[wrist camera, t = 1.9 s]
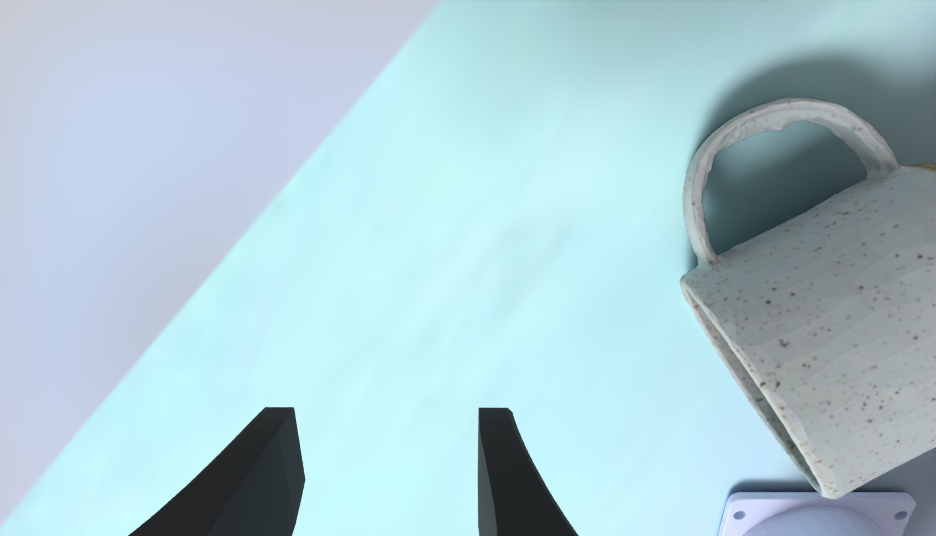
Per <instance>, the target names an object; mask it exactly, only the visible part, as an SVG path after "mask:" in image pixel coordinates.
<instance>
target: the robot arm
mask: <svg viewBox="0 0 936 536" xmlns="http://www.w3.org/2000/svg"><path fill="white" fill-rule="evenodd" d="M304 483H305V475H304V468H303V462H302V456H301V449H300V443H299V437H298V430H297V424H296V417H295V411H294V407H265V408H264V409H263V410H262V411H261V412H260V413H259V414H258V415H257V416H256V417H255V418H254V419H253V420H252V421H251V422H250V423H249V424H248V425H247V426H246V427H245V428H244V429H243V430H242V431H241V432H240V433H239V434H238V435H237V436H236V438H235V439H234V440H233V441H232V442H231V443H230V444H229V445H228V446H227V447H226V448H225V449H224V450H223V451H222V452H221V453H220V454H219V455H218V456H217V457H216V458H215V459H214V460H213V461H212V462H211V463H210V464H209V465H208V466H207V467H206V468H204V469H203V470H202V471H201V472H200V473H199V474H198V475H197V476H196V477H195V478H194V479H193V480H192V481H191V482H190V483H189V484H188V485H187V486H186V487H185V488H183V489H182V490H181V491H180V492H179V493H178V494H177V495H176V496H175V497H173V498H172V499H171V500H170V501H169V502H168V503H167V504H166V505H164V506H163V507H162V508H161V509H160V510H159V511H158V512H157V513H155V514H154V515H153V516H152V517H151V518H150V519H148V520H147V521H146V522H145V523H144V524H142V525H141V526H140V527H139V528H137V529H136V530H135V531H134V532H132V533H131V534H130V535H128V536H292V533H293V530H294V527H295V524H296V520H297V515H298V511H299V507H300V502H301V497H302V493H303V488H304ZM915 506H916V502H915V500H914V499H913V498H912V496H911V495H910V494H908V493H904V492H849V493H847V494H845V495H843V496H841V497H839V498H837V499H828V498H825V497H823V496H821V494H820V493H819V492H737V493H734V494H732V495H731V496H730V497H729V498H728V500H727V503H726V507H725V511H724V515H723V518H722V522H721V526H720V530H719V534H718V536H902V535H903V533H904V530H905V528H906V526H907V524H908V522H909V519H910V517H911V515H912V513H913V511H914V508H915ZM737 511H738V512H737ZM478 527H479V536H578V534H577V533H576V532H575V530H574V529H573V527H572V526H571V524H570V523H569V521H568V520H567V519H566V517H565V516H564V514H563V512H562V511H561V509H560V508H559V506H558V505H557V503H556V502H555V500H554V498H553V497H552V495H551V493H550V492H549V490H548V488H547V487H546V485H545V483H544V481H543V479H542V478H541V476H540V474H539V472H538V470H537V469H536V467H535V465H534V463H533V461H532V459H531V457H530V455H529V453H528V451H527V449H526V447H525V445H524V442H523V440H522V438H521V435H520V433H519V431H518V428H517V425H516V423H515V420H514V416H513V413H512V412H511V411H510V410H509V409H508V408H479V425H478Z"/></svg>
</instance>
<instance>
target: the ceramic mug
mask: <svg viewBox="0 0 936 536" xmlns="http://www.w3.org/2000/svg"><path fill="white" fill-rule="evenodd" d="M803 120H807V121H810V122H812V123H815V124H818V125H821V126H824V127H826V128H828V129H829V130H831V131H832V132H833V133H834V135H835V136H836V137H838V138H840V139H841V140H843V141H844V142H845V143H846V145H847V146H848V147H849V148H850V149H851V150H852V151H853V152H854V153H855V154H856V155H857V157H858V158H859V160H860V161H861V163H862V164H863V166H864V167H865V169H866V172H867V177H866V179H864V180H862V181H860V182H858V183H856V184H854V185H852V186H850V187H848V188H847V189H844V190H842V191H841V192H839V193H837V194H834V195H833V196H831V197H830V198H828V199H827V200H825V201H824V202H822V203H820V204H818V205H816V206H815V207H813V208H812V209H810V210H808V211H806V212H804V213H802V214H800V215H798V216H797V217H795V218H792V219H790V220H788V221H786V222H784V223H782V224H779V225H778V226H776V227H774V228H772V229H770V230H768V231H766V232H764V233H762V234H760V235H758V236H756V237H754V238H752V239H749V240H747V241H745V242H743V243H741V244H737V245H736V246H734V247H733V248H731V249H730V250H728V251H726V252H724V253H721V254H719V255H716V253H715V252H714V251H713V249H712V246H711V244H710V241H709V236H708V230H707V227H706V221H705V214H704V208H703V193H704V189H705V186H706V182H707V177H708V172H709V171H710V170H711V168H712V162H713V159H714V156H715V154H716V153H718V152H719V151H721V150H723V149H725V148H727V147H729V146H731V145H733V144H735V143H737V142H739V141H741V140H743V139H746V138H748V137H750V136H752V135H755V134H758V133H761V132H764V131H767V130H776V131H781V130H782V129H784V128H785V127H787V126H788V125H790V124H791V123H792V122H794V121H803ZM683 213H684V218H685V223H686V228H687V231H688V235H689V238H690V241H691V245H692V248H693V250H694V252H695V254H696V256H697V258H698V266H696V267H695V268H694V269H692V270H691V271H689V272H688V273H686V274H685V275H683V276H682V277H681V279H680V286H681V289H682V292H683V294H684V296H685V299H686V301H687V302H688V304H689V305H690V307H691V308H692V310H693V312H694V314H695V317H696V319H697V321H698V322H699V324H700V325H701V327H702V329H703V330H704V332H705V333H706V335H707V337H708V338H709V340H710V342H711V344H712V346H713V347H714V348H715V350H716V351H717V353H718V355H719V356H720V358H721V359H722V361H723V362H724V364H725V365H726V367H727V368H728V370H729V371H730V373H731V375H732V376H733V378H734V379H735V381H736V383H737V384H738V385H739V387H740V388H741V390H742V391H743V393H744V394H745V396H746V398H747V399H748V401H749V402H750V404H751V405H752V407H753V408H754V409H755V410H756V412H757V413H758V414H759V416H760V417H761V418H762V420H763V422H764V423H765V425H766V426H767V427H768V429H769V430H770V431H771V432H772V434H773V435H774V436H775V438H776V440H777V441H778V442H779V443H780V445H781V446H782V448H783V449H784V450H785V452H786V453H787V454H788V455H789V457H790V458H791V459H792V461H793V462H794V464H795V465H796V466H797V468H798V469H799V470H800V471H801V472H802V474H803V475H804V476H805V477H806V478H807V480H808V481H809V483H810V484H811V485H812V486H813V488H814V489H815V490H816V491H818V492H819V493H820V494H821V496H823V497H825V498H828V499H837V498H839V497H841V496H843V495H845V494H847V493H849V492H851V491H853V490H854V489H856V488H858V487H860V486H862V485H864V484H865V483H867V482H869V481H871V480H873V479H875V478H876V477H878V476H880V475H882V474H884V473H886V472H888V471H890V470H892V469H894V468H896V467H898V466H900V465H902V464H903V463H905V462H907V461H909V460H911V459H913V458H915V457H917V456H919V455H921V454H923V453H925V452H927V451H929V450H931V449H933V448H935V447H936V164H925V163H922V164H916V165H910V166H902V165H899V164H898V163H897V161H896V157H895V153H894V152H893V151H892V150H891V149H890V147H889V146H888V144H887V142H886V140H885V138H884V137H882V136H881V135H880V134H879V133H878V132H877V131H876V130H875V129H874V127H873V126H872V125H871V124H870V123H869V122H867V121H866V120H864V119H863V118H861V117H860V116H858V115H857V114H855V113H854V112H852V111H851V110H850V109H847V108H845V107H843V106H841V105H839V104H835V103H830V102H826V101H821V100H816V99H812V98H784V99H780V100H776V101H771V102H769V103H766V104H763V105H760V106H757V107H754V108H751V109H749V110H747V111H745V112H744V113H742V114H740V115H738V116H736V117H734V118H732V119H731V120H729V121H728V122H726V123H725V124H724V125H722V126H721V127H720V128H718V129H717V130H716V131H714V132H713V133H712V134H711V135H710V136H709V137H708V138H707V139H706V140H705V141H704V142H703V144H702V145H701V146H700V148H699V149H698V150H697V151H696V153H695V155H694V157H693V158H692V160H691V161H690V164H689V167H688V171H687V174H686V178H685V183H684V187H683Z"/></svg>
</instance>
